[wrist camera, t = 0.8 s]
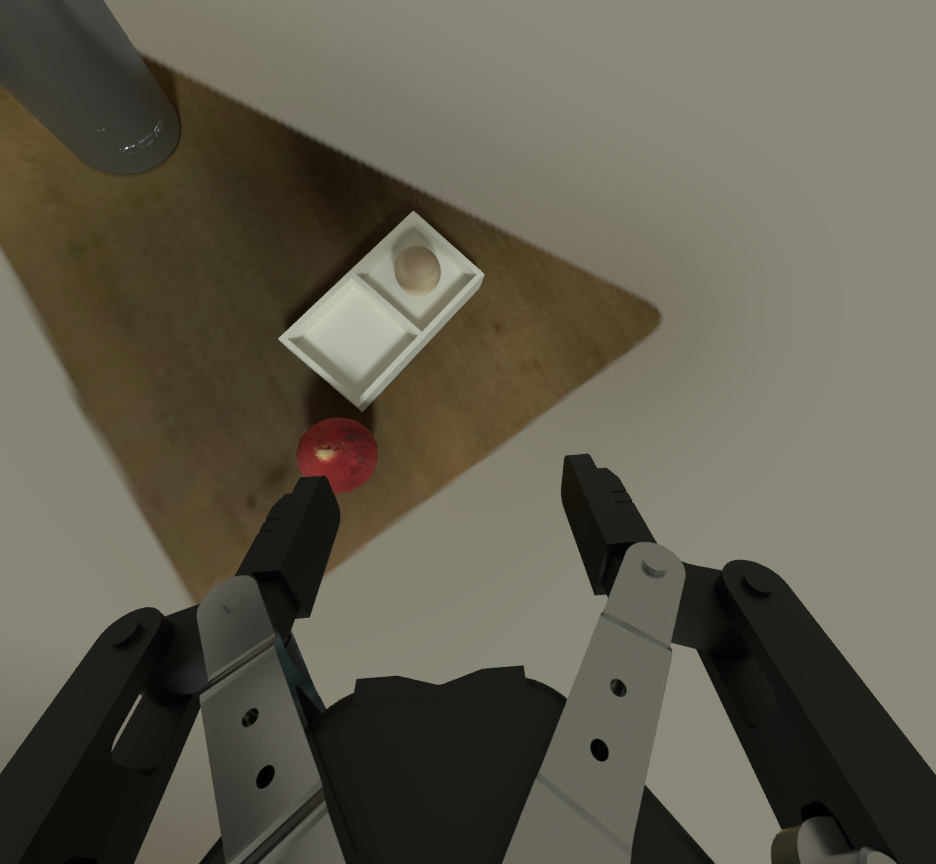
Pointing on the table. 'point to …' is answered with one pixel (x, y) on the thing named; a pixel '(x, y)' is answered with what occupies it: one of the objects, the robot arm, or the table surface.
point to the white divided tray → (380, 315)
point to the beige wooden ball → (417, 270)
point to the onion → (338, 453)
